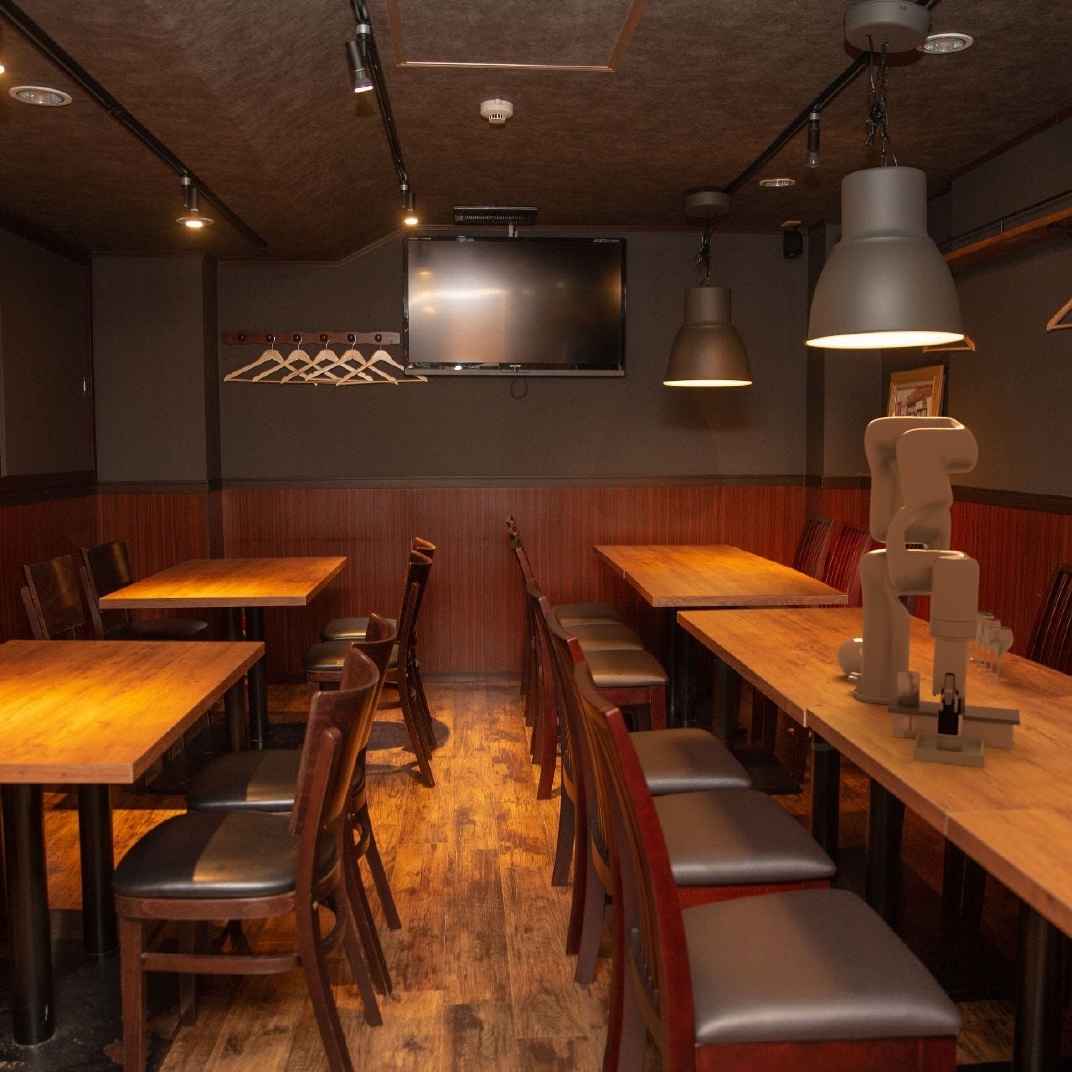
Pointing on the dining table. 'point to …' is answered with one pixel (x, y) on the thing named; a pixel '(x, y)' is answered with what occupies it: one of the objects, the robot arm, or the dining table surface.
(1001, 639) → the goblet set
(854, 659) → the potion bottle
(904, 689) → the left steel weight
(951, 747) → the cylinder
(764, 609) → the dining table surface
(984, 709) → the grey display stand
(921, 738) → the grey square tray
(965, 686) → the knob
